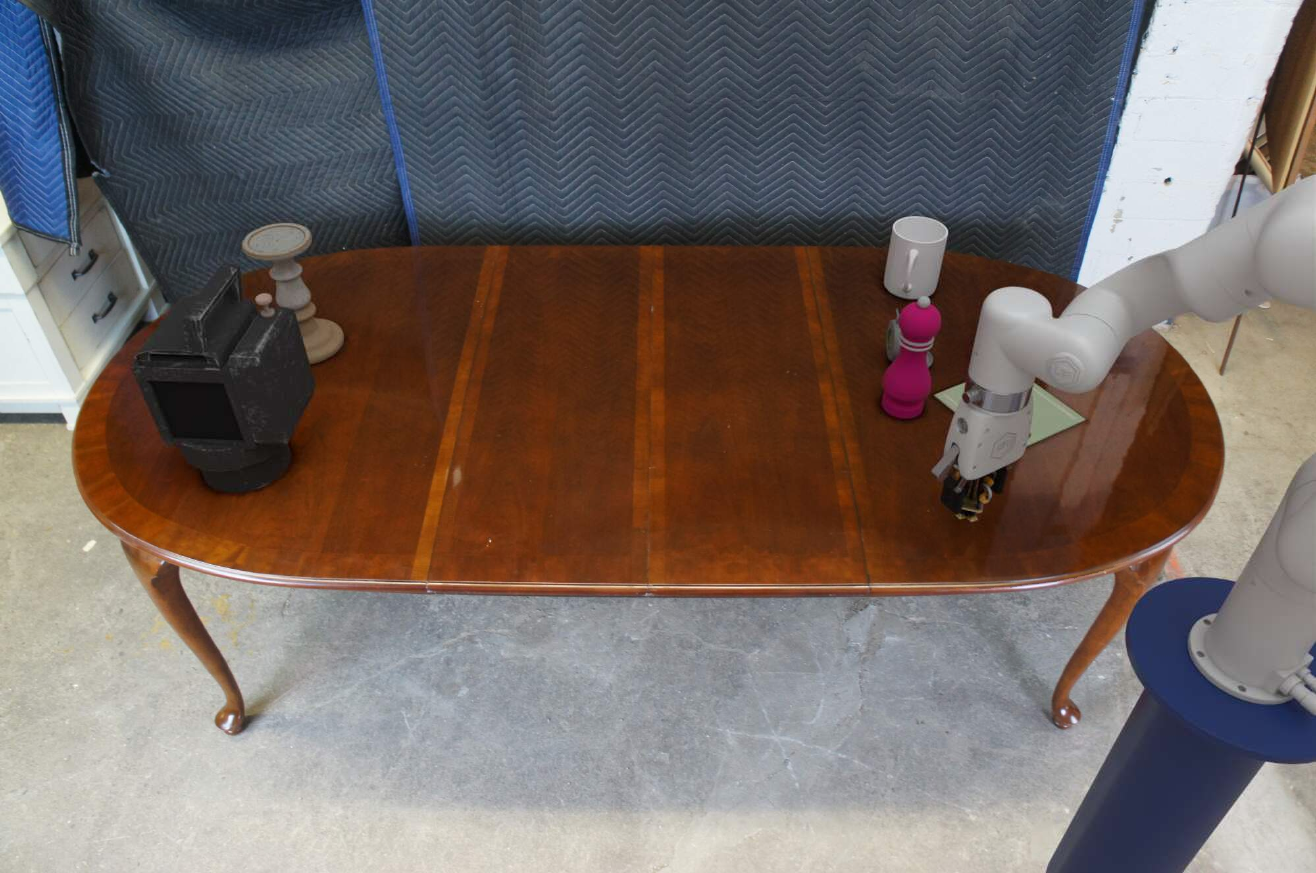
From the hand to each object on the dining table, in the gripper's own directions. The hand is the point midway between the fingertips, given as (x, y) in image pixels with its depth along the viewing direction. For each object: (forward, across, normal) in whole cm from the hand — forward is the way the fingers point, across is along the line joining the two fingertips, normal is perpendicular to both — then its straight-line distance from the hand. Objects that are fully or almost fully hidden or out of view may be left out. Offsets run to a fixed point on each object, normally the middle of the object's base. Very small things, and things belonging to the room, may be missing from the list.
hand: (971, 496), depth 128 cm
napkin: (+6, +25, +16) cm, 30 cm away
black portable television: (+4, -79, +61) cm, 100 cm away
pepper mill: (+6, +11, +25) cm, 28 cm away
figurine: (+3, 0, 0) cm, 3 cm away
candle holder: (+4, -65, +87) cm, 109 cm away
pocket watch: (+6, +19, +34) cm, 39 cm away
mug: (+6, +34, +50) cm, 60 cm away
